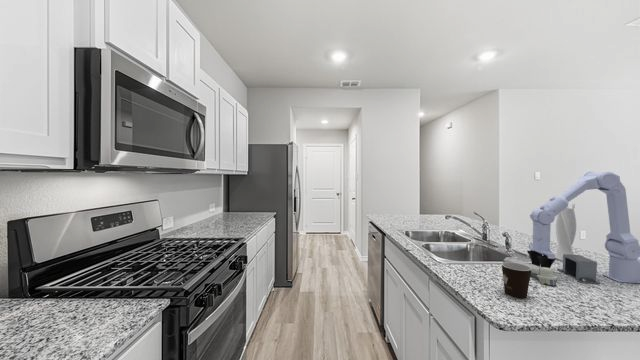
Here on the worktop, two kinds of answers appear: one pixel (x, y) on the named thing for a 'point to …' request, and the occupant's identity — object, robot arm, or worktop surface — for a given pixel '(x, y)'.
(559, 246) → the skyscraper
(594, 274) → the bracket sleeve
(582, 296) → the worktop surface
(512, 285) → the coffee mug
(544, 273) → the light grey piece
